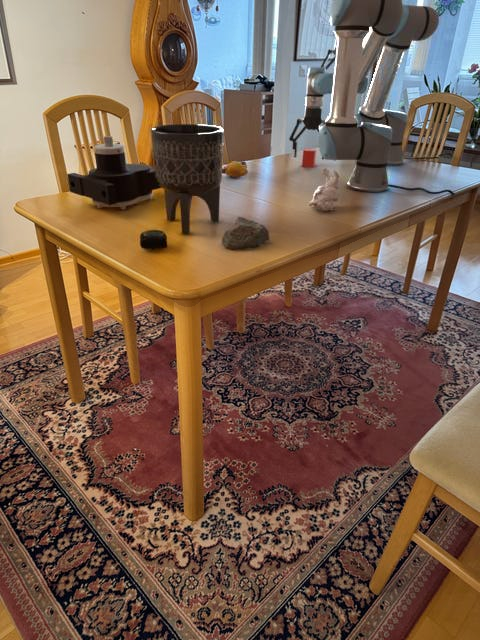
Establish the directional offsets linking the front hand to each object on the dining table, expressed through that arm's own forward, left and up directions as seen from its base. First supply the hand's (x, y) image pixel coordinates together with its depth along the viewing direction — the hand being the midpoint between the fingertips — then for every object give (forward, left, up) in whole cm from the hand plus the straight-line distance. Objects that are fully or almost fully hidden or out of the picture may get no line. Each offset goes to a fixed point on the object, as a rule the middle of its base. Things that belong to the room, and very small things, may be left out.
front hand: (309, 158), depth 210 cm
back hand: (-14, -41, +28) cm, 52 cm away
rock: (+22, +106, -3) cm, 109 cm away
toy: (+32, +26, -3) cm, 42 cm away
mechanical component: (+65, +70, -3) cm, 96 cm away
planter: (+40, +92, -3) cm, 101 cm away
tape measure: (+46, +112, -3) cm, 121 cm away
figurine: (-1, +70, -3) cm, 70 cm away
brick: (0, 0, -3) cm, 3 cm away
